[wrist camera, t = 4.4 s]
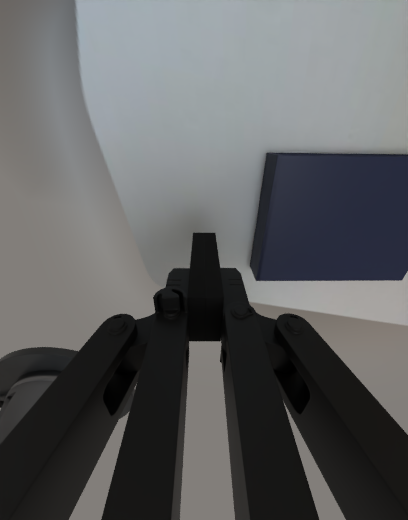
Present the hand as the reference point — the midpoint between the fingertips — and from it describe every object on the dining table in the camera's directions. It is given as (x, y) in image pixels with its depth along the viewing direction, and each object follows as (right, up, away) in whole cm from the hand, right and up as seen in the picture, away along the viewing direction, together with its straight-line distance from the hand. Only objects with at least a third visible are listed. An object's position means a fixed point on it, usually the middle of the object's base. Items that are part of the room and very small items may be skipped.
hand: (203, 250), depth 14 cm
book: (+14, +4, +7) cm, 16 cm away
